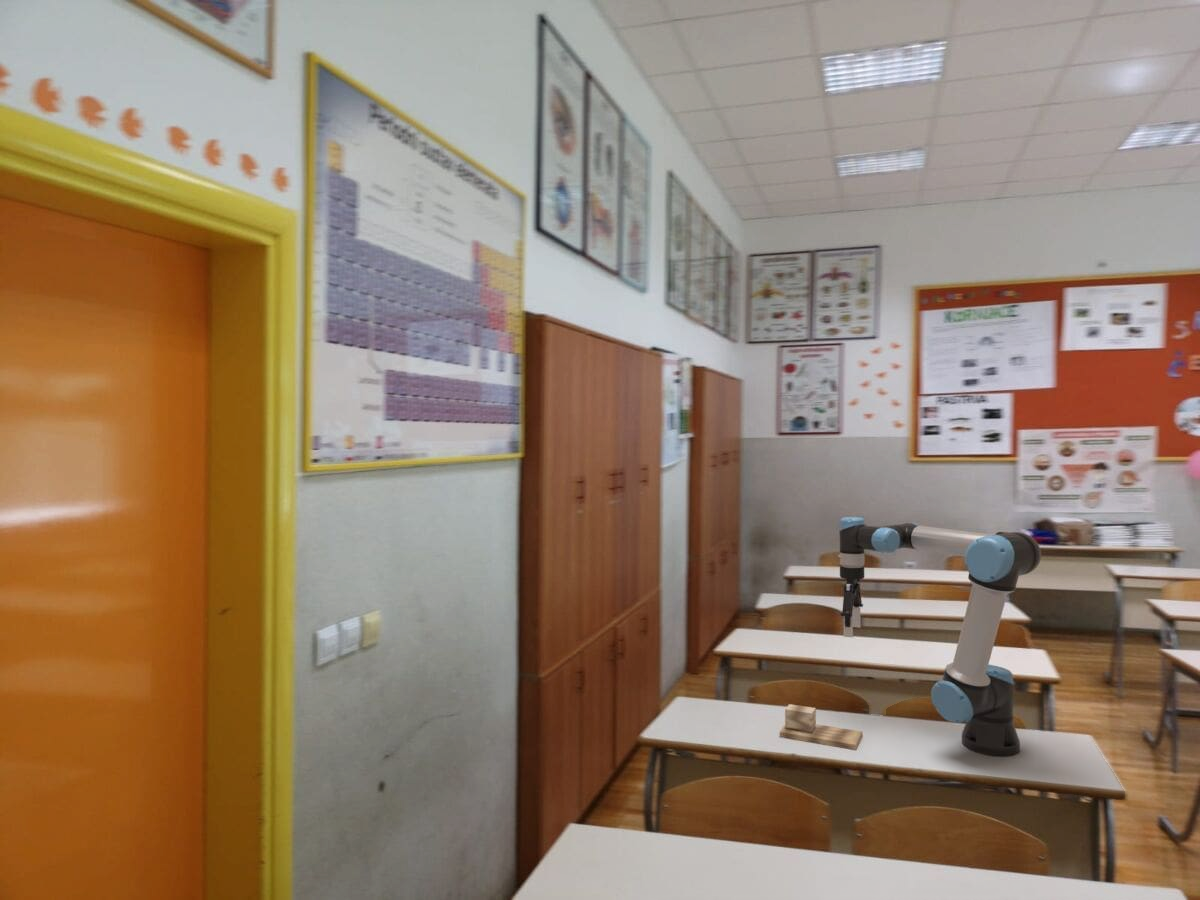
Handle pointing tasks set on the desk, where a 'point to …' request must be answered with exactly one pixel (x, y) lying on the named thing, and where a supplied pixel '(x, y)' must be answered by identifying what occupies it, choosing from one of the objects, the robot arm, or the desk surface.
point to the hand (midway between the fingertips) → (852, 631)
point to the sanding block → (800, 718)
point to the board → (827, 736)
